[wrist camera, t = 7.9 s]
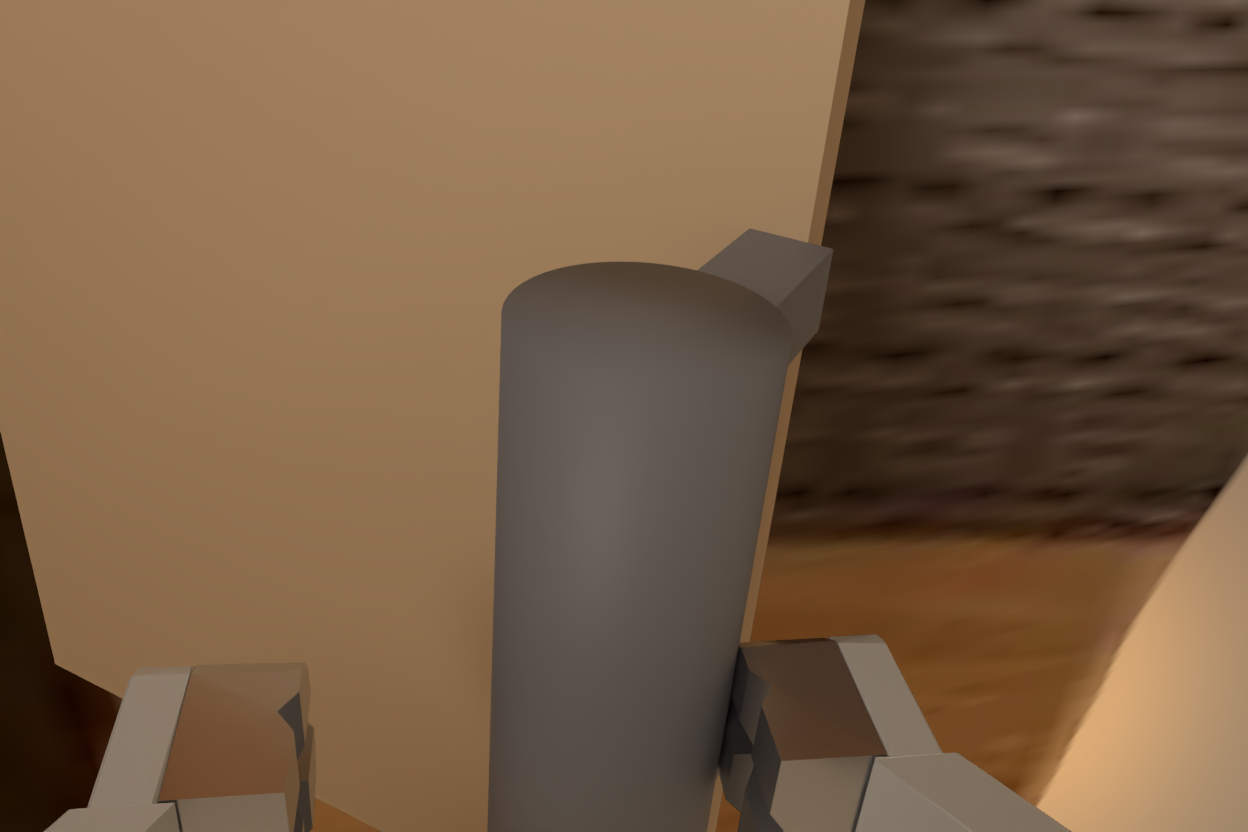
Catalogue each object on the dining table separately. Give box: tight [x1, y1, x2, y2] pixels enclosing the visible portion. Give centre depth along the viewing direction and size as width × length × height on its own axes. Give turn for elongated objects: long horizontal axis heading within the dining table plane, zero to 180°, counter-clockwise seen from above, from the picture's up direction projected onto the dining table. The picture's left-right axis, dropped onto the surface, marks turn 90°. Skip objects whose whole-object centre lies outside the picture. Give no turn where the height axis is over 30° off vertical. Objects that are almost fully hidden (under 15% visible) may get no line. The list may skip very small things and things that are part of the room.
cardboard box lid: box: [0, 0, 865, 832], centre depth 15 cm, size 20×16×6 cm
